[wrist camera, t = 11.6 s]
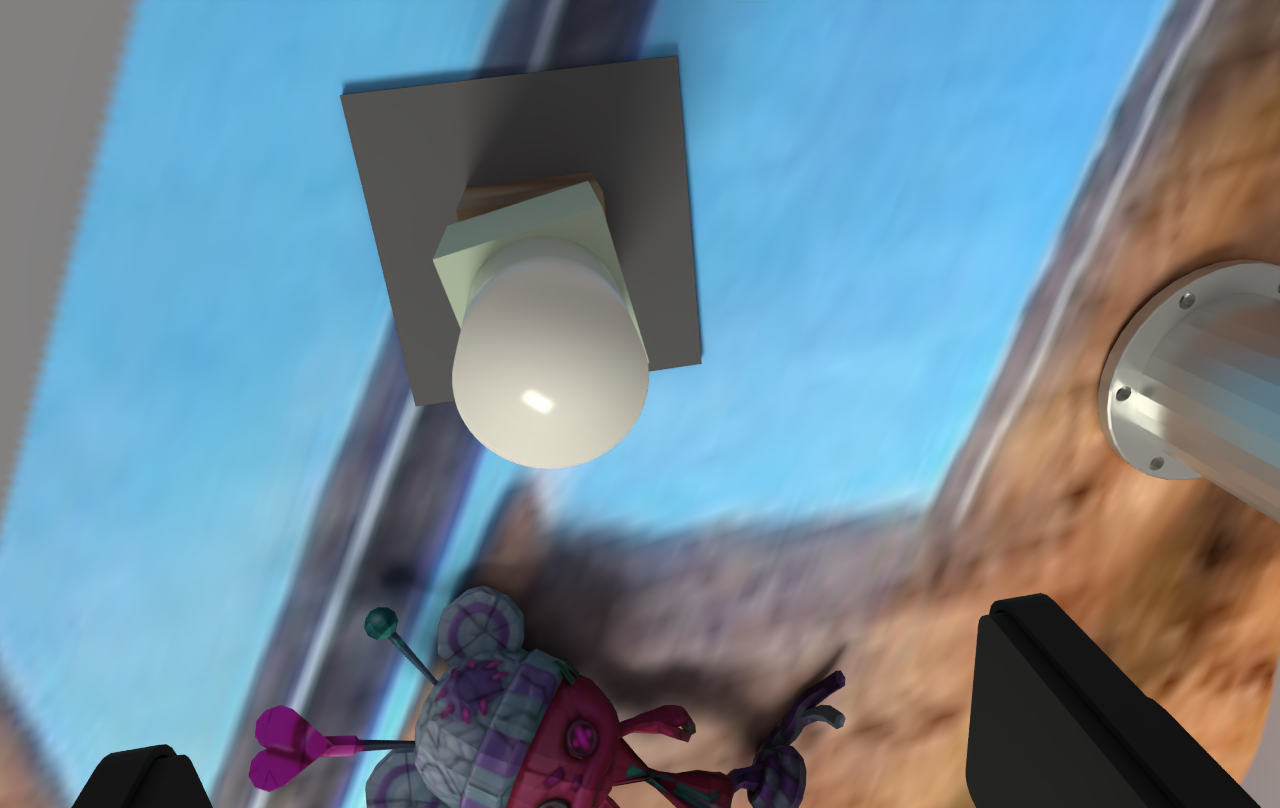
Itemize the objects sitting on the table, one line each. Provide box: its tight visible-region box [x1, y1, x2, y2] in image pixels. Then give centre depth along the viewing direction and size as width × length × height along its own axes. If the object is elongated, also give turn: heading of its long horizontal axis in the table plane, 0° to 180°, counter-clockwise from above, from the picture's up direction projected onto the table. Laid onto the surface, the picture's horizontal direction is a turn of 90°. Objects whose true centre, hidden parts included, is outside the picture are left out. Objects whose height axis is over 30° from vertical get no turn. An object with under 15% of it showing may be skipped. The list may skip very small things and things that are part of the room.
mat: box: [340, 56, 702, 406], centre depth 36 cm, size 14×14×1 cm
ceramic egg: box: [452, 236, 649, 469], centre depth 23 cm, size 5×5×6 cm
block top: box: [433, 181, 649, 363], centre depth 28 cm, size 6×6×6 cm
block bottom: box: [456, 172, 607, 222], centre depth 33 cm, size 6×6×6 cm
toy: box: [249, 585, 846, 808], centre depth 43 cm, size 16×9×30 cm
